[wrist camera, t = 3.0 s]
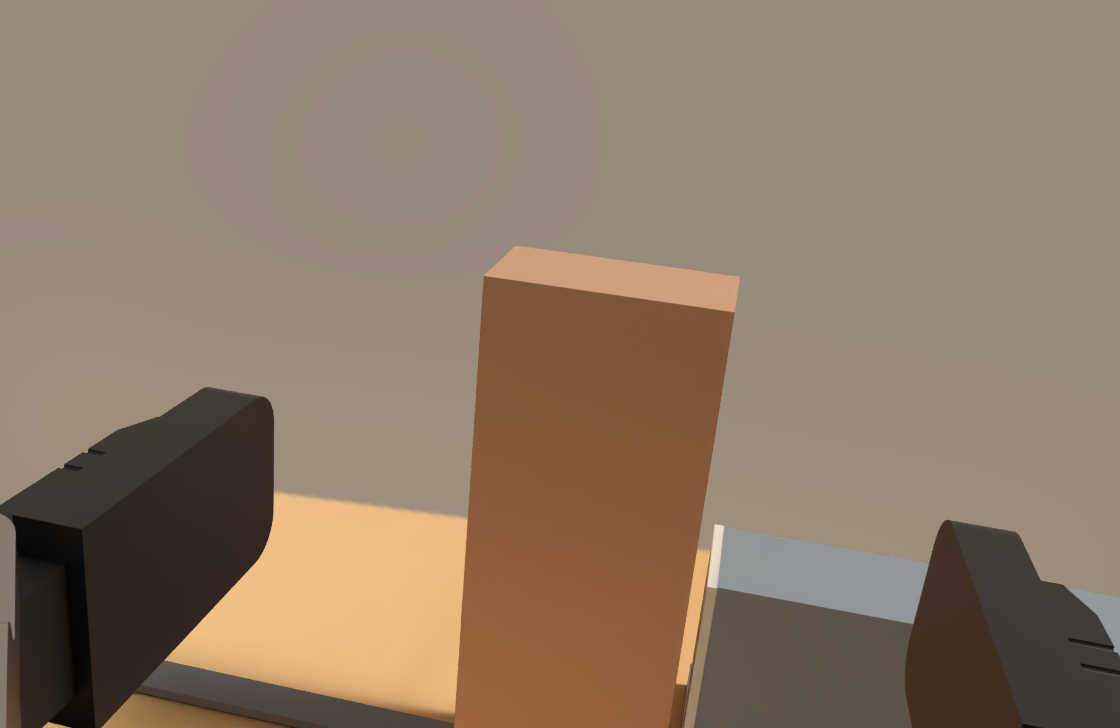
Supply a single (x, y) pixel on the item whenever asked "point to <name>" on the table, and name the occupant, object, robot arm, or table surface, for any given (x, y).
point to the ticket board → (715, 647)
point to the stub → (587, 487)
